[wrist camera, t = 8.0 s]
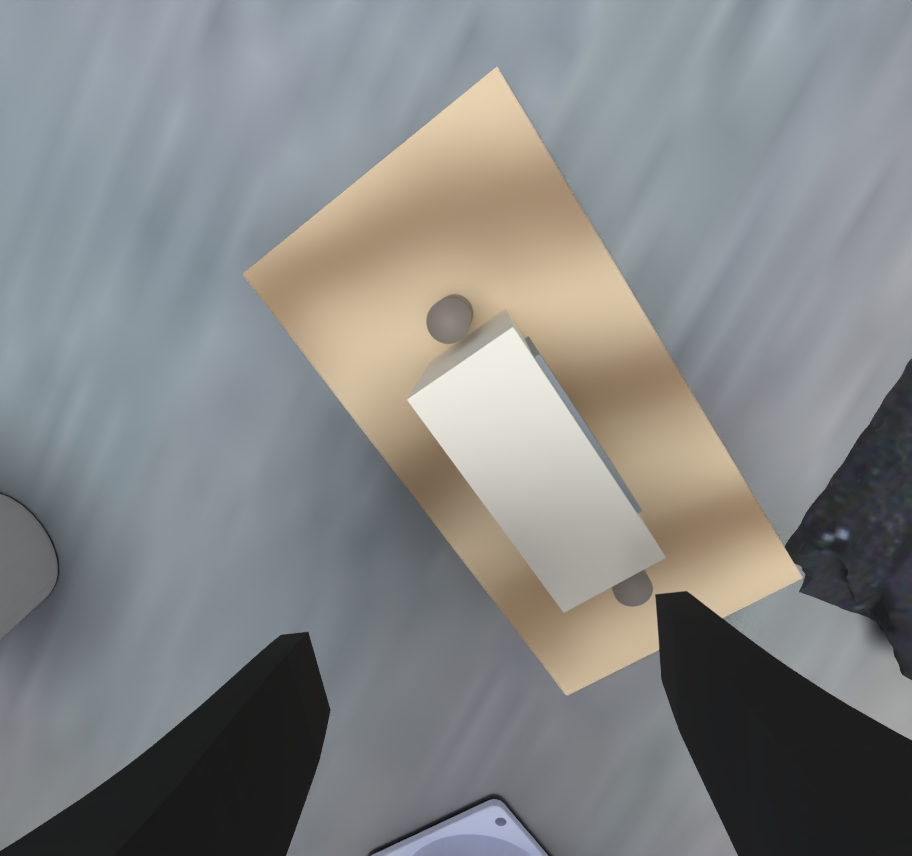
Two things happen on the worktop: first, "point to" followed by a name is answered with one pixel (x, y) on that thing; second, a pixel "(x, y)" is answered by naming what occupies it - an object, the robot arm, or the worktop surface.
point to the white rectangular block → (534, 462)
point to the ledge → (560, 344)
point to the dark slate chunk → (867, 527)
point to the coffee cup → (23, 564)
